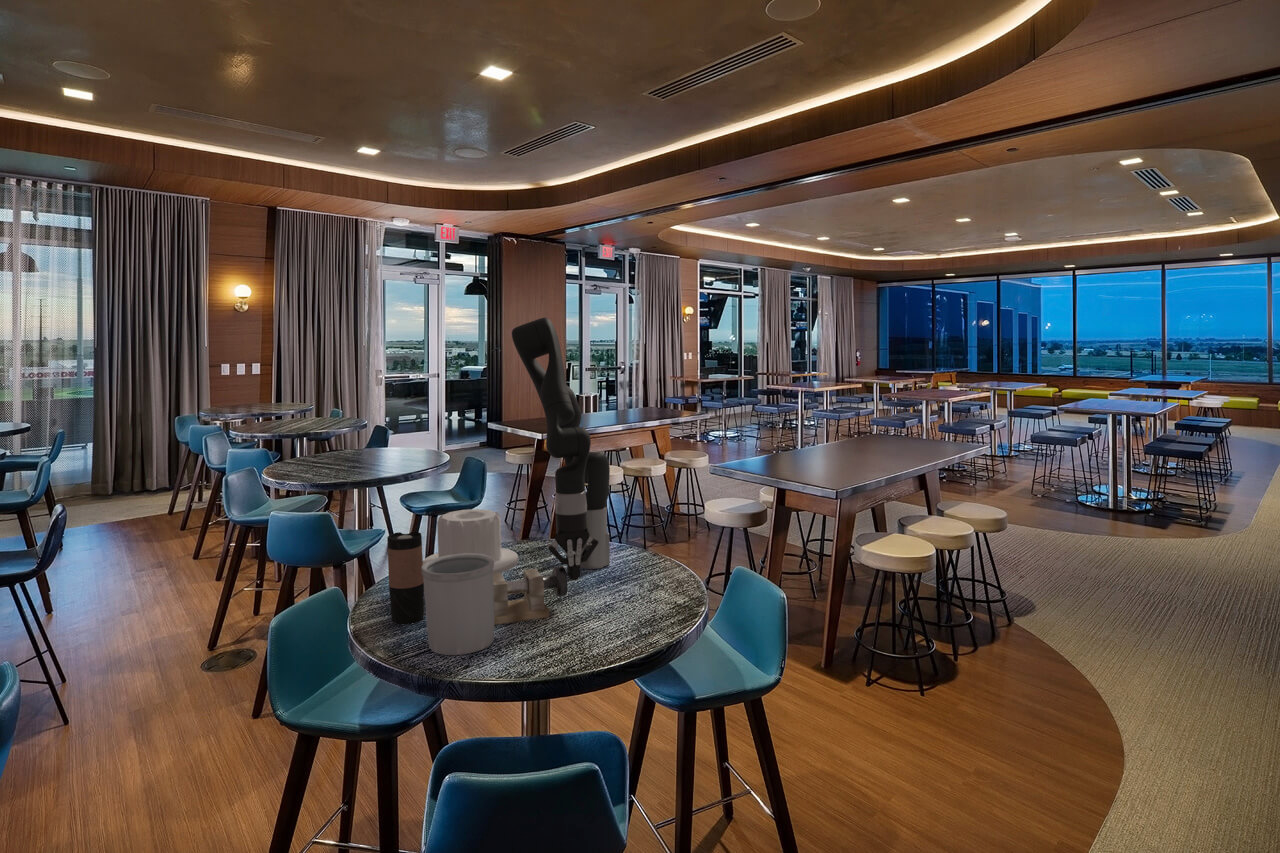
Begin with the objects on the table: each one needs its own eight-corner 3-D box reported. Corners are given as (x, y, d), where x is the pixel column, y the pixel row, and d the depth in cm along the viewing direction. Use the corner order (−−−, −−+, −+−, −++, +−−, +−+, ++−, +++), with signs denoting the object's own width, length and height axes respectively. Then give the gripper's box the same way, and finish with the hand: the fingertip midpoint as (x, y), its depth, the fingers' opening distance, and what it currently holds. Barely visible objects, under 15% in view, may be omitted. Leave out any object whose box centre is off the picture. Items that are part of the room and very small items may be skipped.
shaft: (560, 590, 170) (559, 562, 169) (567, 599, 163) (567, 570, 163) (486, 599, 164) (486, 571, 163) (491, 609, 157) (490, 580, 156)
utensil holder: (409, 651, 142) (406, 569, 141) (453, 625, 156) (450, 550, 154) (469, 662, 137) (466, 576, 135) (509, 633, 151) (507, 556, 149)
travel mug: (405, 628, 155) (401, 541, 153) (383, 621, 159) (379, 536, 157) (432, 617, 161) (428, 533, 159) (410, 610, 165) (406, 529, 163)
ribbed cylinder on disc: (469, 607, 167) (466, 531, 165) (402, 589, 181) (399, 518, 179) (537, 579, 188) (536, 511, 186) (473, 564, 202) (470, 501, 200)
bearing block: (539, 602, 170) (539, 567, 169) (549, 616, 161) (548, 579, 160) (486, 609, 165) (485, 573, 164) (493, 624, 156) (492, 586, 155)
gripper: (592, 503, 171) (595, 571, 173) (540, 509, 166) (543, 578, 168) (602, 510, 164) (604, 580, 166) (548, 516, 159) (551, 588, 161)
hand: (574, 579), depth 167 cm, fingers closed
